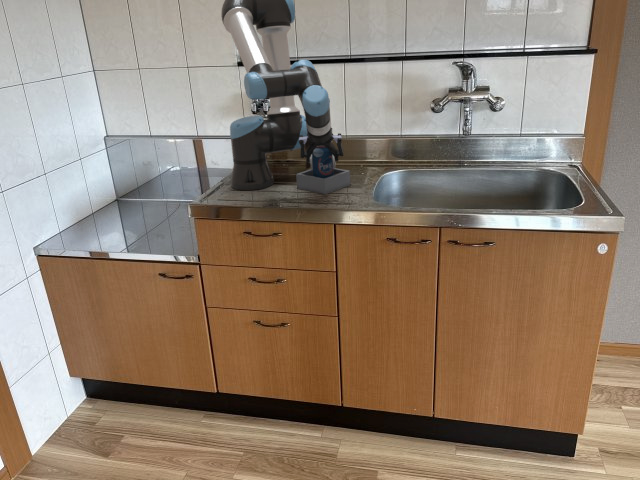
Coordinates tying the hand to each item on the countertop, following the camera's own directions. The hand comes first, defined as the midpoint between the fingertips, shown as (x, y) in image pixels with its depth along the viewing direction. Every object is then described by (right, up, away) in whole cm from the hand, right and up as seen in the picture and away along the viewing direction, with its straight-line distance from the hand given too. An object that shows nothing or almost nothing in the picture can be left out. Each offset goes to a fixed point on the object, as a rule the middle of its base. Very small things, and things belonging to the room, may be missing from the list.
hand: (323, 165), depth 188 cm
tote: (0, -7, -1) cm, 7 cm away
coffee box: (-1, 0, +19) cm, 19 cm away
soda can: (0, -5, -2) cm, 6 cm away
